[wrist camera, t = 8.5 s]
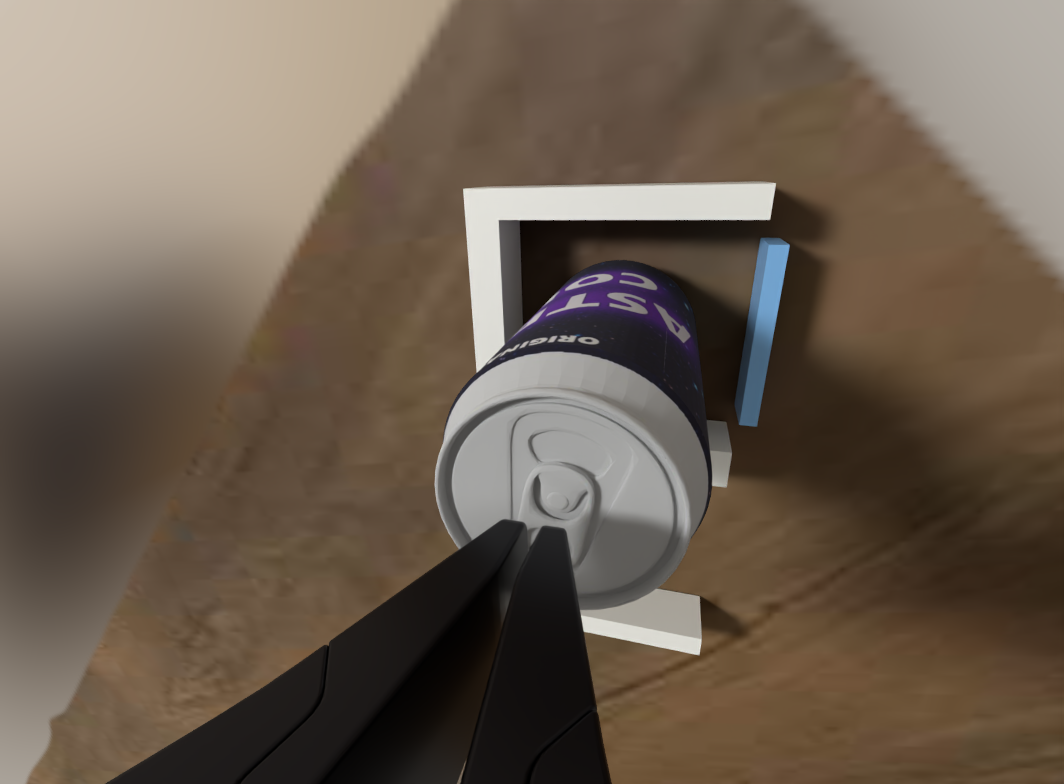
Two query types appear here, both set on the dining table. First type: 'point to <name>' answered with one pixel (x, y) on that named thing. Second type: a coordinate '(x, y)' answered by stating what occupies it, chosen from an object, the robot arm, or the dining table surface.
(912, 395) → the dining table surface
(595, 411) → the beverage can
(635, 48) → the dining table surface
